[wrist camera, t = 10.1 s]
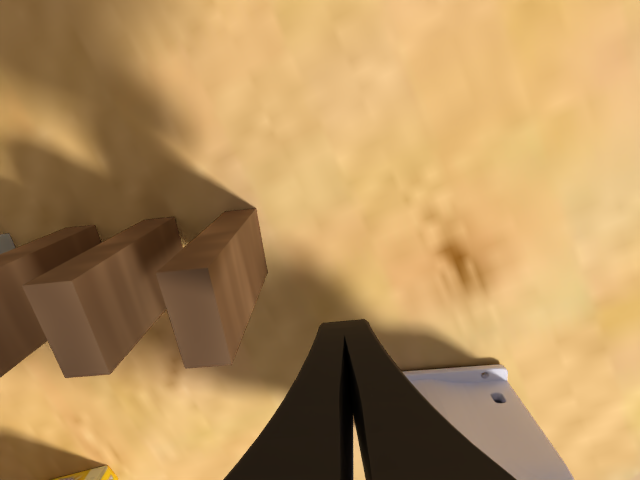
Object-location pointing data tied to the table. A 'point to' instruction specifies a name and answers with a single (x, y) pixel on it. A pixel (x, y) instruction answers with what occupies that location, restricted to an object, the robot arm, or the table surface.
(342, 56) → the table surface
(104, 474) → the candy box
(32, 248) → the domino
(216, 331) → the domino
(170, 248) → the domino
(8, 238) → the domino
